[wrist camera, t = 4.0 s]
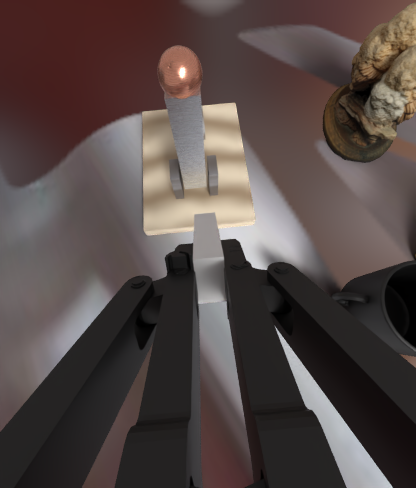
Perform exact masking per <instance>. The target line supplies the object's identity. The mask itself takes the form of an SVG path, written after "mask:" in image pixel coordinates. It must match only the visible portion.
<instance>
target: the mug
mask: <svg viewBox="0 0 416 488" xmlns="http://www.w3.org/2000/svg"><path fill="white" fill-rule="evenodd" d="M331 298H333V299H334V300H335V301H336V302H337V303H339V304H340V305H341V306H342V307H343V308H344V309H346V310H347V311H348V312H349V313H350V314H352V315H353V316H354V317H355V318H356V319H358V320H359V321H360V322H361V323H362V324H364V325H365V326H366V327H367V328H368V329H370V330H371V331H372V332H373V333H374V334H376V335H377V336H378V337H379V338H380V339H382V340H383V341H384V342H385V343H386V344H388V345H389V346H390V347H391V348H392V349H394V350H395V351H396V352H397V353H398V354H403V355H408V356H414V357H416V260H413V261H407V262H403V263H400V264H398V265H394V266H391V267H388V268H385V269H382V270H379V271H376V272H372V273H369V274H366V275H363V276H360V277H357V278H354V279H353V280H351V281H350V282H348V283H347V284H346V285H345V286H344V288H343V289H342V291H341V292H339V293H334V294H332V297H331Z"/></svg>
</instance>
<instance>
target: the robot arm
mask: <svg viewBox="0 0 416 488" xmlns="http://www.w3.org/2000/svg"><path fill="white" fill-rule="evenodd" d="M165 262H166V267H167V276H166V277H164V278H162V279H159V280H156V281H153V282H152V279H151V278H150V277H149V276H137V277H133V278H131V279H129V280H128V281H127V282H126V283H125V284H124V285H123V286H122V288H121V289H120V290H119V291H118V292H117V294H116V295H115V296H114V297H113V298H112V299H111V301H110V302H109V303H108V304H107V305H106V307H105V308H104V309H103V310H102V311H101V313H100V314H99V315H98V316H97V317H96V319H95V320H94V321H93V322H92V323H91V325H90V326H89V327H88V328H87V329H86V331H85V332H84V333H83V334H82V335H81V337H80V338H79V339H78V340H77V341H76V342H75V344H74V345H73V346H72V347H71V348H70V350H69V351H68V352H67V353H66V354H65V356H64V357H63V358H62V359H61V360H60V362H59V363H58V364H57V365H56V366H55V368H54V369H53V370H52V371H51V372H50V374H49V375H48V376H47V377H46V378H45V380H44V381H43V382H42V383H41V384H40V385H39V387H38V388H37V389H36V390H35V391H34V393H33V394H32V395H31V396H30V397H29V399H28V400H27V401H26V402H25V403H24V405H23V406H22V407H21V408H20V409H19V411H18V412H17V413H16V414H15V415H14V417H13V418H12V419H11V420H10V421H9V423H8V424H7V425H6V426H5V427H4V428H3V430H2V431H1V432H0V488H82V486H83V484H84V482H85V480H86V478H87V476H88V474H89V472H90V470H91V468H92V466H93V464H94V462H95V459H96V457H97V455H98V453H99V451H100V449H101V447H102V445H103V443H104V441H105V439H106V437H107V435H108V433H109V431H110V429H111V427H112V425H113V423H114V421H115V419H116V417H117V415H118V412H119V410H120V408H121V406H122V404H123V402H124V400H125V398H126V396H127V394H128V392H129V390H130V388H131V386H132V384H133V382H134V380H135V378H136V376H137V374H138V372H139V370H140V368H141V366H142V363H143V361H144V359H145V357H146V355H147V353H148V351H149V349H150V347H151V345H152V343H153V347H152V352H151V357H150V362H149V367H148V372H147V377H146V382H145V387H144V392H143V397H142V402H141V407H140V412H139V417H138V420H137V423H136V425H134V426H132V427H131V428H130V430H129V432H128V434H127V437H126V441H125V444H124V448H123V453H122V457H121V462H120V466H119V470H118V475H117V479H116V484H115V488H203V486H202V473H201V415H200V339H199V306H198V304H202V303H213V302H224V301H227V315H228V319H229V323H230V329H231V336H232V342H233V348H234V355H235V361H236V367H237V373H238V380H239V386H240V392H241V399H242V405H243V411H244V417H245V424H246V430H247V436H248V443H249V449H250V455H251V462H252V469H253V479H254V483H253V484H251V485H249V486H247V487H245V488H346V485H345V483H344V480H343V478H342V475H341V473H340V471H339V468H338V466H337V463H336V461H335V458H334V456H333V453H332V451H331V449H330V446H329V444H328V441H327V439H326V436H325V434H324V432H323V429H322V427H321V424H320V422H319V420H318V418H317V416H316V415H315V413H314V412H313V411H312V410H309V409H307V407H306V406H305V404H304V402H303V399H302V397H301V394H300V391H299V389H298V386H297V384H296V381H295V378H294V376H293V373H292V370H291V368H290V365H289V363H288V360H287V357H286V355H285V352H284V350H283V347H282V344H281V342H280V339H279V336H278V334H277V331H276V329H275V327H276V328H277V329H278V331H279V332H280V333H281V335H282V336H283V338H284V339H285V340H286V342H287V343H288V344H289V346H290V347H291V348H292V350H293V351H294V353H295V354H296V355H297V357H298V358H299V359H300V361H301V362H302V364H303V365H304V366H305V368H306V369H307V370H308V372H309V373H310V374H311V376H312V377H313V379H314V380H315V381H316V383H317V384H318V385H319V387H320V388H321V390H322V391H323V392H324V394H325V395H326V396H327V398H328V399H329V400H330V402H331V403H332V405H333V406H334V407H335V409H336V410H337V411H338V413H339V414H340V416H341V417H342V418H343V420H344V421H345V422H346V424H347V425H348V426H349V428H350V429H351V431H352V432H353V433H354V435H355V436H356V437H357V439H358V440H359V442H360V443H361V444H362V446H363V447H364V448H365V450H366V451H367V452H368V454H369V455H370V457H371V458H372V459H373V461H374V462H375V463H376V465H377V466H378V468H379V469H380V470H381V472H382V473H383V474H384V476H385V477H386V478H387V480H388V481H389V483H390V484H391V485H392V487H393V488H416V368H415V367H414V366H413V365H411V364H410V363H409V362H408V361H407V360H406V359H404V358H403V357H402V356H401V355H400V354H398V353H397V352H396V351H395V350H394V349H392V348H391V347H390V346H389V345H388V344H386V343H385V342H384V341H383V340H382V339H380V338H379V337H378V336H377V335H376V334H374V333H373V332H372V331H371V330H370V329H368V328H367V327H366V326H365V325H364V324H362V323H361V322H360V321H359V320H358V319H356V318H355V317H354V316H353V315H352V314H350V313H349V312H348V311H347V310H346V309H344V308H343V307H342V306H341V305H340V304H339V303H337V302H336V301H335V300H334V299H333V298H331V297H330V296H329V295H328V294H327V293H325V292H324V291H323V290H322V289H321V288H319V287H318V286H317V285H316V284H315V283H313V282H312V281H311V280H310V279H309V278H307V277H306V276H305V275H304V274H303V273H301V272H300V271H299V270H298V269H297V268H295V267H294V266H293V265H291V264H288V263H285V262H276V263H272V264H270V265H269V266H268V269H267V270H260V269H256V268H253V267H252V266H251V264H250V263H249V262H248V261H246V258H245V255H244V253H243V250H242V247H241V245H240V242H239V241H237V240H236V239H228V240H220V235H219V230H218V225H217V220H216V215H215V212H214V213H203V214H194V240H193V243H192V244H181V245H178V246H177V247H176V248H175V251H173V252H171V253H169V254H168V255H166V257H165ZM226 299H227V300H226ZM274 325H275V326H274ZM153 341H154V342H153Z"/></svg>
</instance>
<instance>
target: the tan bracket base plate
mask: <svg viewBox="0 0 416 488" xmlns="http://www.w3.org/2000/svg"><path fill="white" fill-rule="evenodd" d="M201 107H202V122H203V138H204V153H205V169H206V185H207V187H202V188H192V189H185V187H184V182H183V178H182V173H181V169H180V165H179V160H178V156H177V151H176V147H175V143H174V138H173V134H172V129H171V125H170V120H169V116H168V112H167V109H165V110H155V111H145V112H142V119H143V209H144V232H145V233H146V234H147V236H148V235H158V234H168V233H178V232H188V231H194V214H203V213H214V212H215V215H216V220H217V225H218V228H228V227H238V226H248V225H254V222H255V220H256V219H255V213H254V207H253V201H252V196H251V190H250V184H249V178H248V173H247V167H246V161H245V155H244V150H243V144H242V138H241V132H240V127H239V121H238V115H237V109H236V104H235V103H226V104H216V105H206V106H201Z"/></svg>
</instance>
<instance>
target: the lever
mask: <svg viewBox="0 0 416 488" xmlns="http://www.w3.org/2000/svg"><path fill="white" fill-rule="evenodd" d="M158 78H159V82H160V84H161V87H162V88H163V90H164V97H165V103H166V106H167V112H168V116H169V120H170V125H171V129H172V134H173V138H174V143H175V147H176V151H177V156H178V160H179V165H180V169H181V173H182V178H183V182H184V187H185V189H192V188H202V187H207V185H206V169H205V153H204V138H203V122H202V107H201V93H200V85H201V82H202V67H201V64H200V61H199V59H198V57H197V56H196V55H195V54H194V52H192V51H191V50H190V49H189V48H187V47H184V46H173V47H171V48H169V49H167V50H166V51H165V52H164V53H163V55H162V56H161V58H160V61H159V64H158Z"/></svg>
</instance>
